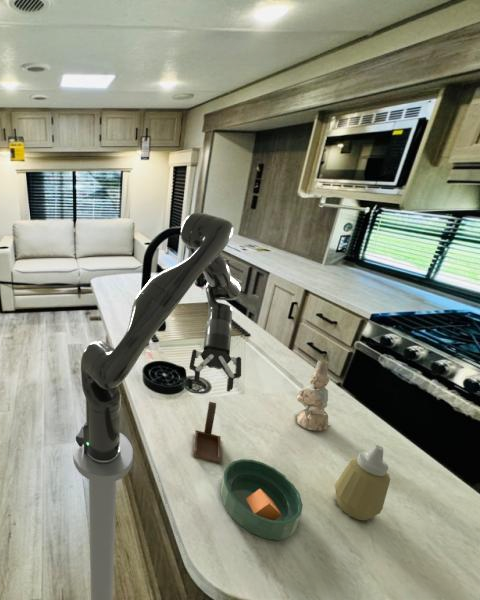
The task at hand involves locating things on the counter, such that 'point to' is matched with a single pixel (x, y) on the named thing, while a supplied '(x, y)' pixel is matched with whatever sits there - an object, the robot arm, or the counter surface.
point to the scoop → (208, 439)
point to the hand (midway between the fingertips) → (212, 387)
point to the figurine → (315, 400)
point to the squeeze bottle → (363, 485)
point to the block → (263, 505)
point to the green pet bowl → (257, 475)
